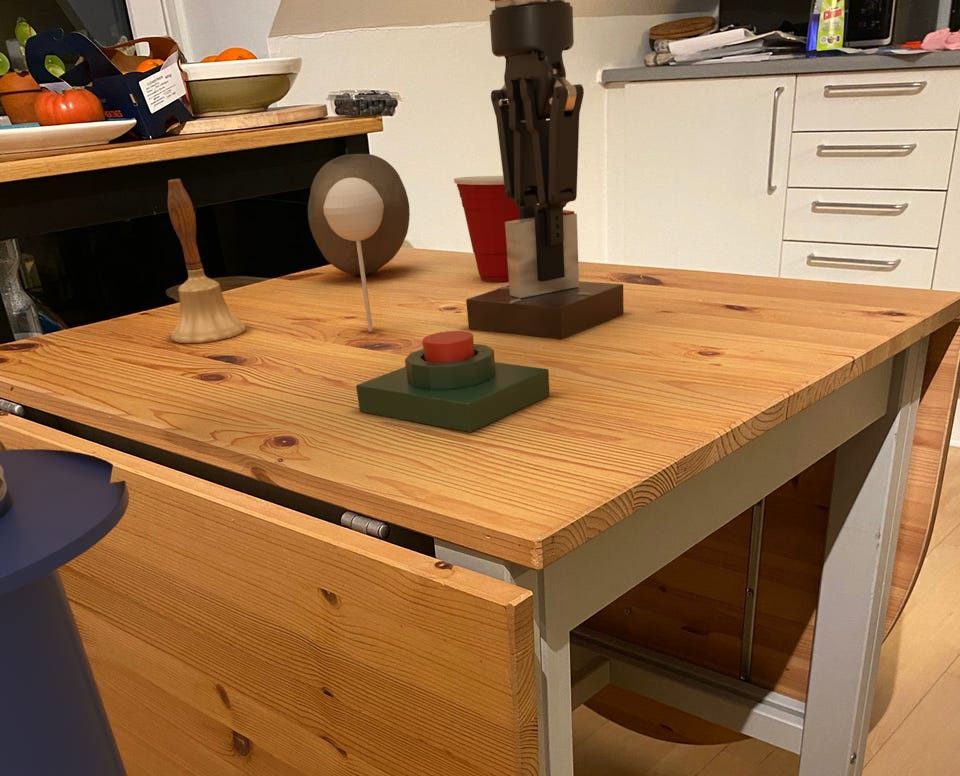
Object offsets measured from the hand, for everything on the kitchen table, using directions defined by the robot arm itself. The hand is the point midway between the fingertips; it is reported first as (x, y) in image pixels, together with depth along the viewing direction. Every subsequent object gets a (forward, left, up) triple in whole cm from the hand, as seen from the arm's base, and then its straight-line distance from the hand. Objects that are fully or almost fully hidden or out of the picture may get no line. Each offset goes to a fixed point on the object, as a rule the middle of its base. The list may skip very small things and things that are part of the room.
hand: (543, 276), depth 100 cm
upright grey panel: (0, 0, -1) cm, 1 cm away
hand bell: (-34, -18, -5) cm, 39 cm away
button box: (+10, -26, -4) cm, 28 cm away
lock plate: (0, 0, -4) cm, 4 cm away
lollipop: (-16, -10, -5) cm, 19 cm away
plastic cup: (-20, +18, -5) cm, 27 cm away
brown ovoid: (-41, +14, -5) cm, 44 cm away
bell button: (+10, -26, -1) cm, 28 cm away
